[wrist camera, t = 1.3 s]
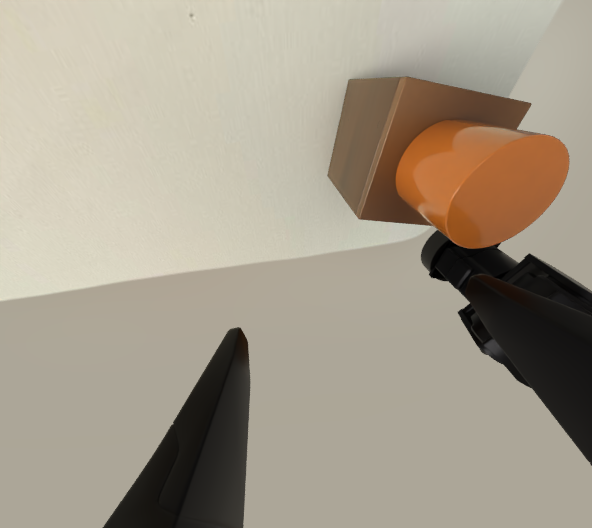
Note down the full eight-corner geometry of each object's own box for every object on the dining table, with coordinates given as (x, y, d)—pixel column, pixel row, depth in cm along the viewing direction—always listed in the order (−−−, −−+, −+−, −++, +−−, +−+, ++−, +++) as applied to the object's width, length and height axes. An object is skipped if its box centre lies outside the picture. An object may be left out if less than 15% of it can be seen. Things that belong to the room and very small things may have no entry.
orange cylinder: (498, 126, 10) (601, 144, 7) (450, 210, 13) (512, 251, 10) (417, 111, 10) (492, 124, 7) (382, 203, 12) (425, 245, 9)
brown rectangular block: (432, 96, 16) (533, 103, 10) (397, 184, 20) (456, 228, 14) (348, 79, 15) (406, 76, 9) (327, 176, 18) (358, 219, 12)
